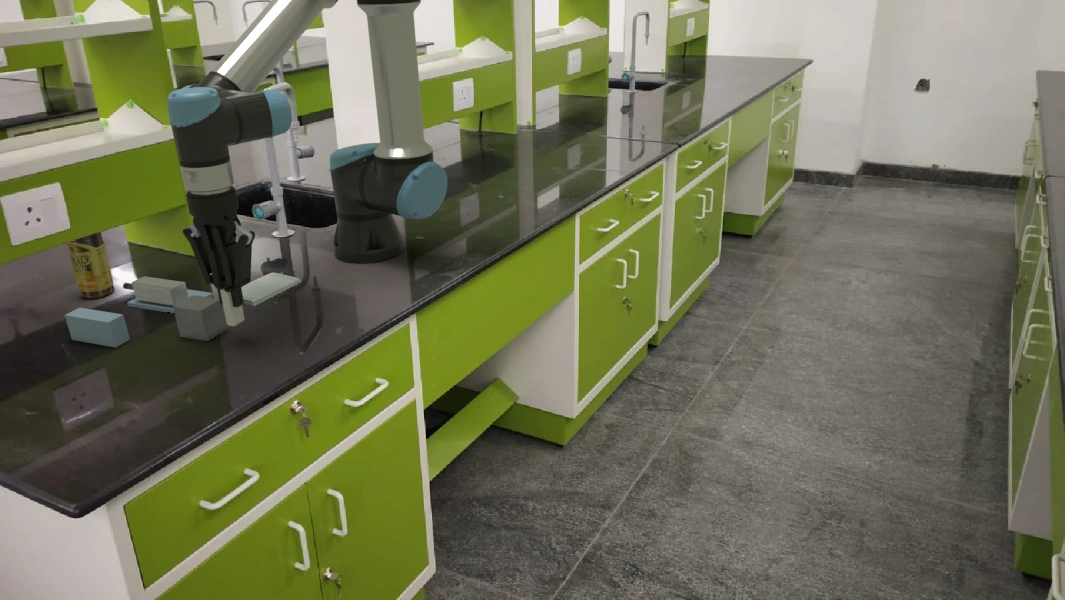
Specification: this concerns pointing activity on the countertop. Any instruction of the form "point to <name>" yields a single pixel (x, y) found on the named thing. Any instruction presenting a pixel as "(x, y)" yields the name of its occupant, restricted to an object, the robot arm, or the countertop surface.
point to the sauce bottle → (91, 266)
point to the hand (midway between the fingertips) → (235, 322)
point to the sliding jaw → (158, 290)
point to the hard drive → (267, 287)
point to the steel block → (200, 317)
